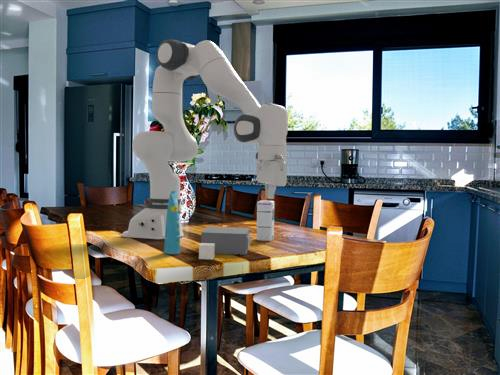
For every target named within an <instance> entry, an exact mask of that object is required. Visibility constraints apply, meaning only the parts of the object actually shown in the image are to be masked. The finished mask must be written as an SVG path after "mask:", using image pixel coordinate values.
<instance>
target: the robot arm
mask: <svg viewBox="0 0 500 375" xmlns="http://www.w3.org/2000/svg"><path fill="white" fill-rule="evenodd" d="M156 60H157V63H158V65H159V66H157V68H155V71H154V77H153V81H152V91H151V93H152V94H151V95H152V97H151V100H152V101H151V114H152V116H153V118H155V120H157V121H158V122H159V123H160V124H161V125H162V128H163V129H164V130H163V131H156V130H148V131H141V132H138V133H137V134H136V135H135V136H134V138H133V140H132V151H133V154H134V155H135V157H136V158H138V159H139V160H140V161H141V162H142V163H143V165H144V166H145V168H146V171H147V173H148V176H149V189H150V190H149V192H150V194H149V198H147V199H146V200H144V201H143V202H144V203H143V204H144V208H143V209H142V210H141V211H139V212H138V213H137V214H135V215H134V216H133V217H132V218H131V219H130V220H129V224H128V229H127V230H125V231H123V232H122V234H121V236H122V237H124V238H135V239H136V238H137V239H150V240H165V229H166V218H167V209H168V202H169V197H170V193H171V191H175V190H176V191H177V198H178V207H179V225H180V238H181V237H184V232H183V226H182V219H181V213H182V199H181V178H180V176H179V175H178V174H177V173H176V172H174V171H172V170H171V168H170V165H169V162H175V163H177V162H178V163H182V162H188V161H193V159H195V157H196V156H197V154H198V151H199V150H198V149H199V145H198V142H197V139H196V138H195V137H194V136H193V135H192V134H191V133H190V131H189V130H188V127H187V126H186V124H185V120H184V114H183V84H184V81H185V80H186V79H187V80H189V81H193V80H195V79H197V78H201V80H202V82H203V84H204V85H205V86H206V87H207V88H208V89H209V91H211V92H212V93H214V94H215V95H217V96H220V97H223V98H225V99H227V100H228V101H231V102H232V103H234V104H235V105H237V106H238V108H239V109H240V110H241V111H242V114H241V115H239V116H238V117H236V119H235V122H234V123H233V134H234V137H235V139H236V140H237V141H239V142H240V143H243V144H249V145H254V146H255V145H257V146H258V149H257V152H256V153H255V160H256V180H257V182H258V183H261V184H264V189H265V198H266V199H269V200H274V199H275V193H276V190H277V187H285V186H286V185H287V182H288V177H287V176H288V174H287V173H288V170H287V169H288V168H287V162H286V161H287V149H288V148H287V146H288V145H287V144H288V143H287V135H288V129H289V127H288V125H289V123H288V122H289V120H288V119H289V118H288V116H289V115H288V111H287V109H286V107H285V106H283V105H279V104H276V103H270V102H266V103H263V104H260V103H259V101H258V100H257V98H256V97H255V95H253V93H252V92H251V90H250V89H249V88H248V86H246V83H245V82H244V81H243V80H242V79H241V77H240V75H239V74H238V73H237V72H236V70H235V69H234V67H233V66H232V63H231V62H230V61H229V60H228V58H227V56H226V54H225V53H224V52H223V50H222V49H220V48H219V45H217V44H216V43H215V42H213V41H211V40H207V39H206V40H202V41H200V42H198V43H196V44H195V45H194V44H192V43H187V42H183V41H180V40H177V39H165V40H163V41H162V42H161V43H159V46H158V48H157V50H156Z"/></svg>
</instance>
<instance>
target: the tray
mask: <svg viewBox="0 0 500 375" xmlns="http://www.w3.org/2000/svg"><path fill="white" fill-rule="evenodd" d="M250 245H251V232H249V233H248V235H247V247H246V250H248V251H249V248H250Z"/></svg>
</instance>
